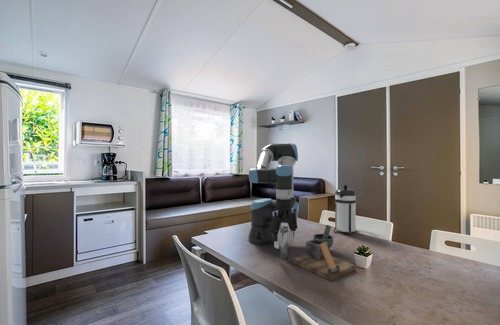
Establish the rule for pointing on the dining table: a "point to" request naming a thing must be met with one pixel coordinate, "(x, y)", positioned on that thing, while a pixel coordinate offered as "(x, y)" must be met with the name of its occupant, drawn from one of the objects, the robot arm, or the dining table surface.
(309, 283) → the dining table surface
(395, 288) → the dining table surface
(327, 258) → the strip
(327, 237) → the mortar and pestle
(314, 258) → the hitch board
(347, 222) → the coffee press
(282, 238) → the pin
